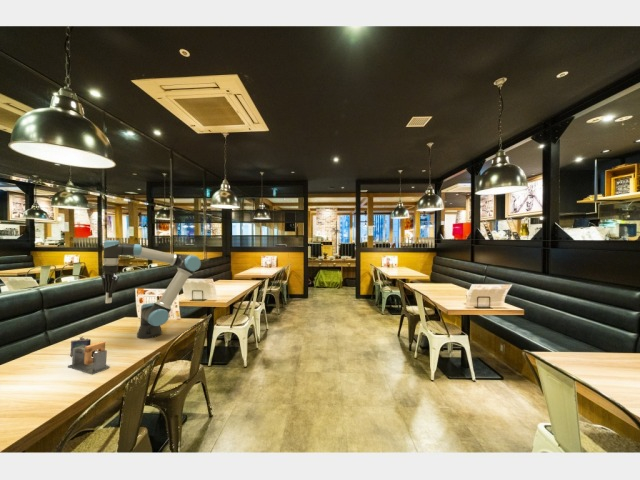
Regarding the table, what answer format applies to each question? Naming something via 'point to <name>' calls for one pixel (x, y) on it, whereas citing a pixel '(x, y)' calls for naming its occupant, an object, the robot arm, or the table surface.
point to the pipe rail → (94, 367)
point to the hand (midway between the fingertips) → (108, 302)
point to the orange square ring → (90, 348)
